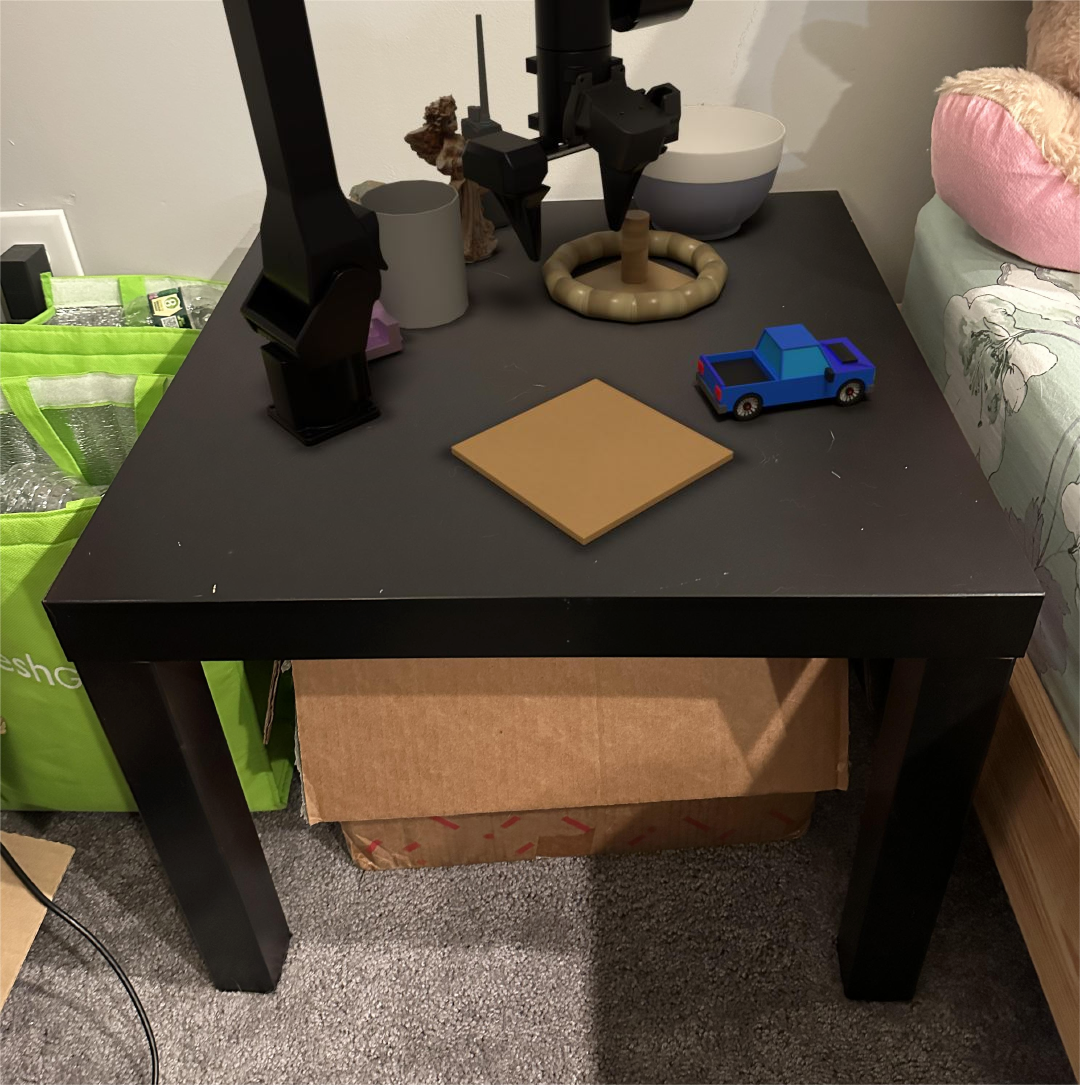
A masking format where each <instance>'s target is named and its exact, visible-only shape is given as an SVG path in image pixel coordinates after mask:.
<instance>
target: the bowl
mask: <svg viewBox="0 0 1080 1085" xmlns="http://www.w3.org/2000/svg"><path fill="white" fill-rule="evenodd" d="M786 133H787V129H786V127H785V125H784V124H783V123H782V122H781V121H780V120H779V119H778V118H775V117H773V116H772V115H769V114H767V113H763V112H761V111H755V110H751V109H749V108H742V107H736V106H725V105H707V104H706V105H683V106H682V105H681V118H680V121H679V137H678V141H675V142H672V143H669V144H665V146H667V147H668V148H667V151H666V152H665V153H664V154H661V155H659V157H658V159H657V160H656V161H654V162H651V163H649V164H648V165H647V166H646V167H645V169H644V170H643V172H642V175H641V177H640V179H639V182H638V184H637V186H636V189H635V192H634V194H633V197H632V199H634V202H635V204H636V206H637V207H638V210H643V211H646V212H648V213H649V215H650V217H649V221H651V224H652V227H653V228H654V230H657V231H667V232H676V233H679V234H682V235H684V236H687V237H690V238H692V239H695V240H698V241H700V242H704V241H715V240H720V239H723V238H726V237H729V236H731V235H733V234H735V233H737V232H738V231H739V229H740V228H741V224H743V223H744V222H745V221H747V220H748V219H749V218H750V217H752V216H753V215H754V214H755V213H756V212H757V211H758V210H759V208H760V207H761V205H762V204H763V202H764V201H765V199H766V197H767V196H768V194H769V193H770V191H771V190H772V188H773V185H774V182H775V179H776V175H777V173H778V170H779V166H780V163H781V160H782V155H783V149H784V144H785V140H786V139H785V138H786Z"/></svg>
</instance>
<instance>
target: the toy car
mask: <svg viewBox="0 0 1080 1085" xmlns="http://www.w3.org/2000/svg"><path fill="white" fill-rule="evenodd" d="M876 368H877V367H875V365H874V364H873V363H872V362H871V361H870V360H869V359H868V358H867V357H866V356H865V355H864V354H863V353H862V352H861V351H860V350H859V349H858V348H857V347H856V346H855V345H854V344H853V342H851V340H849V338H847V336H845V337H836V338H828V339H821V340H817V339H816V338H815V337H814V335H813V334H812V333H811V332H809V330H808V329H807V328H806V327H805V326H804V325H803V324H802V323H795V324H788V325H780V326H773V327H765V328H764V329H763V331H762V333H761V335H760V337H759V340H758V341H757V344H756V346H755V348H752V349H745V350H738V351H730V352H722V353H721V352H720V353H714V354H706V355H705V354H703V353H702V354H700V356H699V359H698V361H697V370H698V371H696V372H695V380H696V382H697V383H698V385H699V386H700V388H701V389H702V391H703V393H704V394H705V395H706V397H707V398H708V401H709V402H710V403H711V405H712V406H713V408H714V409H715V411H716V413H717V414H718V415H720V414H726V413H727V412H732V414H733V415H734V416H735V418H736V419H737V420H739V421H745V422H746V421H750V420H752V419H754V418H756V417H757V416H758V415H759V414H760V412H761V411H762V408H765V407H770V406H778V405H785V404H792V403H793V404H794V403H799V402H800V403H801V402H807V401H814V400H821V399H829V398H834V399H835V400H836V401H837V402H838V404H840V405H842V406H846V407H847V406H852V405H854V404H856V403H857V402H859V400H861V399H862V397H863V395H864V393H865V394H871V393H874V392H875V387H876V385H875V384H874V381H875V376H876Z"/></svg>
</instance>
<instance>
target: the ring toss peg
mask: <svg viewBox="0 0 1080 1085" xmlns="http://www.w3.org/2000/svg"><path fill="white" fill-rule="evenodd" d="M649 217H650V215H649V213H648V212H646V211H643V210H640V209H629V210H628V211H627V214H626V217H625V219H624V222H623V225H622V228H621V230H622V256H621V259H620V260H616V261H615V262H612V263H609V264H607V265H604V266H602V267H599V268H597V269H594V270H592V271H589V272H587V273H584V274H582V275H579V276H577V277H575V278H573V279H574V280H576V281H579V282H581V283H583V284H585V285H587V286H590V287H592V288H594V289H599V290H608V291H616V292H624V293H633V294H636V293H645V292H653V291H662V290H671V289H675V288H677V287H680V286H682V285H684V284H687V283H689V282H691V281H693V280H696V278H694V277H692V276H689V275H687V274H684V273H682V272H680V271H677V270H674V269H672V268H669V267H667V266H664V265H662V264H659V263H657V262H654V261H651V260H649V256H648V243H649V230H650V219H649Z"/></svg>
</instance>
